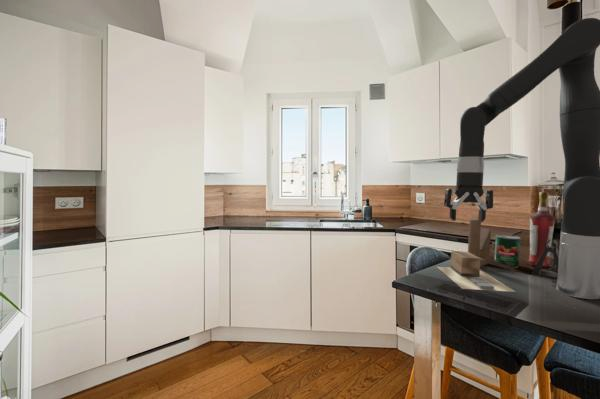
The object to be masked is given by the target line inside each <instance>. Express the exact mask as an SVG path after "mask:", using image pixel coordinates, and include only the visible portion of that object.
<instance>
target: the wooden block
mask: <svg viewBox="0 0 600 399" xmlns="http://www.w3.org/2000/svg"><path fill="white" fill-rule="evenodd" d="M468 224H469V226H468V227H469V228H468V241H467V242H468V243H467V252H469V253H471V254H473V255H475V256H477V257H479V258H480V267H483V266H486V265H489V264H490V252H491V251H490V247H491V239H492V237H491V236H492V235H491V234H492V229H491V228H487V227H486V228H485V227H482V222H480V221H478V218H469V223H468Z"/></svg>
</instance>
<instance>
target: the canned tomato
mask: <svg viewBox="0 0 600 399" xmlns="http://www.w3.org/2000/svg"><path fill="white" fill-rule="evenodd" d="M494 245H495V246H494V262H496V263H499V264H501V265H502V264H503V265H507V266H509V267H511V268H512V269H518V268H519V267H520V252H521V237H520V236H516V235H511V234H510V235H509V234H495V244H494Z"/></svg>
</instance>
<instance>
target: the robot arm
mask: <svg viewBox="0 0 600 399" xmlns="http://www.w3.org/2000/svg"><path fill="white" fill-rule="evenodd" d="M599 46H600V19H599V18H597V17H596V18H595V17H586V18H582V19H579V20H577V21H575V22H573V23H572V24H570V25H569V26H568V27H567V28H566V29H565V30H564V31H563V32H561V34H560V35H559V36H558V37H557V38H556V39H555V40H554V41H553V42H552V43H551V44H550V45H549V46H548V47H547V48H546V49H544V50H543V51H542V52H541V53H540V54H539V55H538V56H536V57H535V58H534V59H533V60H532V61H531V62H529V63H528V64H527V65H526V66H524V67H523V68H521V69H520V70H519V71H518V72H516V73H515V74H514V75H512V76H511V77H509V78H508V79H507V80H505V81H504V82H503V83H502V84H501V85H499V86H498V87H496V88H495V89H494V90H493V91H491V92H490V93H489V94H488V95H487V96H486V98H485V99H484V100H483V101H482V102H480V103H479V104H478V105H476V106H472V107H469V108H467V109H465V110H464V111H463V112H462V114H461V115H460V123H459V125H460V126H459V127H460V128H459V129H460V131H459V132H460V133H459V134H460V137H459V138H460V139H459V140H460V142H459V147H458V160H457V164H456V166H457V167H456V182H455V183H456V184H455V186H456V187H455V189H451V188H446V189H445V192H444V199H443V200H444V202H443V206H444V207H446V208H448V209H449V215H448V216H449V219H451V220H450V221H454V222H455V221H457V219H456V218H457V208H458V206H460V205H461V204H462V203H464V204H465V203H467V204H468V203H472V204H474V203H475V204H476V206H477V207H478V208H479V210H478V215H477V216H478V217H477V219H478V221H480V222H481V223H484V221H485V220H486V216H487V215H486V214H487V210H490V209H493V208H494V190H493V189H486V190H484V189H483V185H484V173H485V172H484V171H485V170H484V169H485V168H484V167H485V161H484V154H485V140H484V139H485V130H486V127H487V126H488V125H489V124H490V123H491V122H492V121H493V120H495V119H496V118H497V117H498V116H499V115H500V114H502V113H503V112H505V111H507V110H508V109H509V108H511V107H512V106H514V105H515V104H516V103H518V102H519V101H521V99H523V98H524V97H526V96H527V95H528V94H529V93H531V92H532V91H533V90H534V89H535V88H537V86H538V85H540V84H541V83H542V82H543V81H544V80H546V79H547V78H548V77H549V76H551V75H552V74H553V73H554V72H556V71H558V72H559V77H560V78H559V79H560V91H559V126H560V129H559V130H560V136H561V137H560V138H561V144H562V150H563V155H564V163H565V164H564V178H563V187H562V197H563V200H564V201H563V209H562V210H563V214H562V220H561V223H560V237H559V238H560V239H559V248H558V249H559V250H558V253H559V262H558V271H557V274H558V275H557V279H556V290H557V291H559V292H561V293H563V294H565V295H566V296H569V297H573V298H579V299H582V300H583V299H586V300H600V87H599V85H598V83H597V81H596V76H595V57H596V51H597V49H598V47H599ZM454 194H455V195H456V196H455V198H454V199H453V202H452V196H454ZM482 195H484V197H485V201H483V199H482V198H481V197H482Z"/></svg>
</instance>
